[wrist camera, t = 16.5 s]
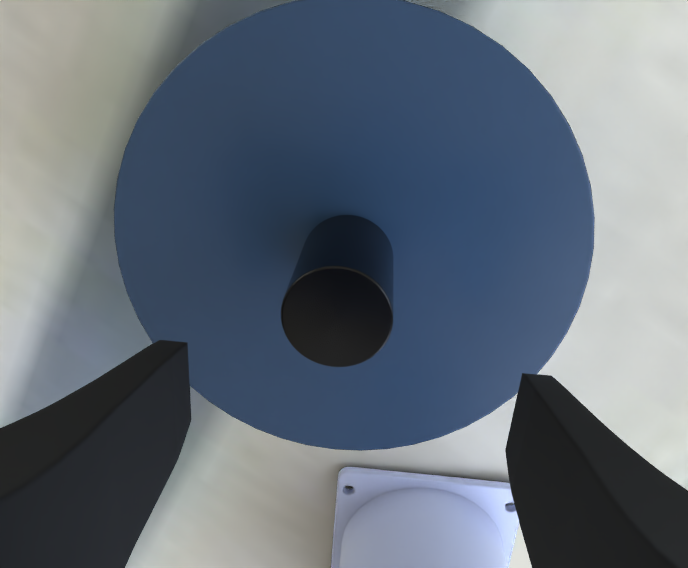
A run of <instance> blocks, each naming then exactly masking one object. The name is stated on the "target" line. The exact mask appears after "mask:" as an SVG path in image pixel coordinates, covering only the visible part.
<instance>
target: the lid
mask: <svg viewBox="0 0 688 568" xmlns="http://www.w3.org/2000/svg"><path fill="white" fill-rule="evenodd" d="M594 218H595V217H594V209H593V200H592V192H591V185H590V181H589V178H588V174H587V170H586V166H585V163H584V159H583V155H582V153H581V151H580V148H579V146H578V144H577V141H576V139H575V137H574V134H573V132H572V130H571V127H570V125H569V123H568V122H567V120H566V119H565V117H564V115H563V114H562V112H561V111H560V109H559V107H558V106H557V104H556V102H555V101H554V99H553V98H552V96H551V95H550V94H549V92H548V91H547V90H546V89H545V88H544V86H543V85H542V84H541V83H540V82H539V81H538V79H537V78H536V77H535V76H534V75H533V74H532V72H531V71H530V70H529V69H528V68H527V67H526V66H525V65H524V64H522V63H521V62H520V61H519V60H518V59H517V58H516V57H514V56H513V55H512V54H511V53H510V52H509V51H508V50H506V49H505V48H504V47H503V46H502V45H500V44H499V43H497V42H496V41H494V40H493V39H491V38H490V37H488V36H486V35H485V34H483V33H482V32H480V31H479V30H477V29H476V28H474V27H473V26H471V25H469V24H466V23H464V22H462V21H460V20H458V19H455V18H453V17H451V16H449V15H447V14H445V13H442V12H440V11H438V10H434V9H431V8H428V7H424V6H421V5H417V4H414V3H411V2H407V1H404V0H295V1H291V2H288V3H285V4H281V5H278V6H275V7H271V8H268V9H265V10H261V11H259V12H257V13H255V14H252V15H250V16H248V17H246V18H244V19H242V20H240V21H238V22H235V23H233V24H231V25H229V26H227V27H226V28H224V29H223V30H221V31H220V32H218V33H217V34H215V35H214V36H212V37H211V38H209V39H208V40H206V41H205V42H203V43H202V44H200V45H199V46H198V47H197V48H196V49H194V50H193V51H192V52H191V53H190V54H189V55H188V56H187V57H186V58H184V59H183V60H182V61H181V62H180V63H179V64H178V65H177V66H176V67H175V68H174V69H173V70H172V71H171V72H170V74H169V75H168V76H167V77H166V78H165V80H164V81H163V82H162V83H161V84H160V86H159V87H158V88H157V89H156V90H155V92H154V93H153V95H152V96H151V98H150V100H149V101H148V103H147V105H146V106H145V108H144V110H143V111H142V113H141V115H140V116H139V118H138V119H137V122H136V124H135V126H134V129H133V131H132V134H131V136H130V138H129V141H128V143H127V145H126V148H125V151H124V155H123V159H122V163H121V166H120V170H119V174H118V178H117V187H116V195H115V204H114V229H115V242H116V249H117V255H118V262H119V267H120V270H121V274H122V277H123V281H124V284H125V287H126V291H127V294H128V296H129V298H130V301H131V303H132V305H133V308H134V310H135V312H136V314H137V317H138V319H139V321H140V322H141V324H142V326H143V327H144V329H145V331H146V332H147V334H148V336H149V338H150V339H151V341H152V343H155V342H157V341H159V340H168V341H179V342H188V362H189V383H190V386H191V387H192V388H194V389H195V390H196V391H197V392H198V393H200V394H201V395H202V396H203V397H204V398H206V399H207V400H208V401H209V402H211V403H212V404H214V405H215V406H217V407H218V408H220V409H221V410H223V411H225V412H226V413H228V414H229V415H231V416H232V417H234V418H236V419H238V420H240V421H242V422H244V423H246V424H248V425H250V426H252V427H254V428H256V429H258V430H261V431H264V432H266V433H269V434H272V435H274V436H277V437H279V438H282V439H286V440H290V441H294V442H297V443H301V444H305V445H310V446H316V447H323V448H329V449H341V450H377V449H390V448H396V447H402V446H408V445H413V444H417V443H421V442H424V441H428V440H431V439H435V438H439V437H442V436H444V435H447V434H449V433H451V432H454V431H456V430H459V429H461V428H464V427H466V426H468V425H470V424H471V423H473V422H475V421H477V420H479V419H481V418H482V417H484V416H486V415H488V414H490V413H491V412H493V411H494V410H495V409H497V408H498V407H500V406H501V405H502V404H504V403H505V402H507V401H508V400H509V399H511V398H512V397H513V396H514V395H515V394H517V393H518V390H519V386H520V381H521V376H522V373H527V374H537V373H538V372H539V371H540V370H541V369H542V367H543V366H544V365H545V364H546V363H547V361H548V360H549V359H550V358H551V357H552V355H553V354H554V352H555V351H556V349H557V347H558V346H559V344H560V343H561V341H562V340H563V338H564V337H565V335H566V334H567V332H568V330H569V328H570V325H571V323H572V321H573V319H574V317H575V315H576V313H577V311H578V309H579V307H580V303H581V300H582V297H583V294H584V291H585V288H586V285H587V282H588V278H589V273H590V267H591V261H592V255H593V249H594Z"/></svg>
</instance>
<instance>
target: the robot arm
mask: <svg viewBox="0 0 688 568" xmlns="http://www.w3.org/2000/svg"><path fill="white" fill-rule="evenodd" d="M190 422H191V404H190V383H189V362H188V342H179V341H168V340H159V341H157V342H155V343H153V344H152V345H150V346H148V347H147V348H145V349H143V350H142V351H140V352H139V353H137V354H135V355H134V356H132V357H131V358H129V359H128V360H126V361H125V362H123V363H121V364H120V365H118V366H117V367H115V368H113V369H112V370H110V371H109V372H107V373H105V374H104V375H102V376H101V377H99V378H97V379H96V380H94V381H93V382H91V383H89V384H87V385H86V386H84V387H82V388H80V389H78V390H77V391H75V392H73V393H71V394H70V395H68V396H66V397H64V398H62V399H61V400H59V401H57V402H55V403H53V404H52V405H50V406H48V407H46V408H44V409H42V410H40V411H38V412H36V413H34V414H31V415H29V416H27V417H25V418H23V419H20V420H18V421H16V422H14V423H12V424H9V425H7V426H5V427H2V428H0V568H125V566H126V564H127V562H128V559H129V557H130V555H131V553H132V550H133V548H134V546H135V544H136V542H137V540H138V538H139V536H140V534H141V532H142V530H143V528H144V526H145V524H146V522H147V520H148V518H149V516H150V514H151V512H152V510H153V508H154V506H155V504H156V502H157V500H158V499H159V497H160V495H161V493H162V491H163V489H164V487H165V485H166V483H167V481H168V479H169V476H170V474H171V472H172V470H173V468H174V466H175V464H176V462H177V460H178V458H179V455H180V452H181V449H182V446H183V443H184V440H185V437H186V434H187V431H188V428H189V425H190ZM506 458H507V466H508V474H509V481H510V483H506V482H496V481H487V480H477V479H467V478H457V477H447V476H437V475H427V474H418V473H408V472H398V471H388V470H378V469H368V468H358V467H345V468H342V469H341V470H340V471H339V474H338V483H337V496H336V509H335V522H334V535H333V547H332V560H331V568H508V567H509V563H510V558H511V554H512V550H513V546H514V541H515V537H516V533H517V529H518V524H519V523H520V526H521V530H522V533H523V537H524V540H525V544H526V547H527V551H528V554H529V558H530V561H531V565H532V568H688V491H687V490H686V489H685V488H683V487H682V486H680V485H679V484H677V483H676V482H674V481H673V480H672V479H670V478H669V477H667V476H666V475H665V474H663V473H662V472H661V471H659V470H658V469H657V468H655V467H654V466H653V465H651V464H650V463H649V462H648V461H646V460H645V459H644V458H643V457H641V456H640V455H639V454H638V453H636V452H635V451H634V450H633V449H632V448H630V447H629V446H628V445H627V444H626V443H624V442H623V441H622V440H621V439H620V438H619V437H617V436H616V435H615V434H614V433H613V432H612V431H611V430H609V429H608V428H607V427H606V426H605V425H604V424H603V423H602V422H601V421H600V420H598V419H597V418H596V417H595V416H594V415H593V414H592V413H591V412H590V411H589V410H588V409H587V408H586V407H585V406H584V405H583V404H581V403H580V402H579V401H578V400H577V399H576V398H575V397H574V396H573V395H572V394H571V393H570V392H569V391H568V390H567V389H566V388H565V387H564V386H562V385H561V384H560V383H559V382H558V381H557V380H556V379H555V378H553V377H552V376H548V375H538V374H527V373H522V376H521V381H520V386H519V390H518V395H517V399H516V404H515V409H514V413H513V418H512V422H511V427H510V431H509V436H508V441H507V445H506ZM345 486H352V487H353V488H352V489H348V488H345ZM510 502H513V503H514V504H512V505H506V504H507V503H510Z"/></svg>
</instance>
